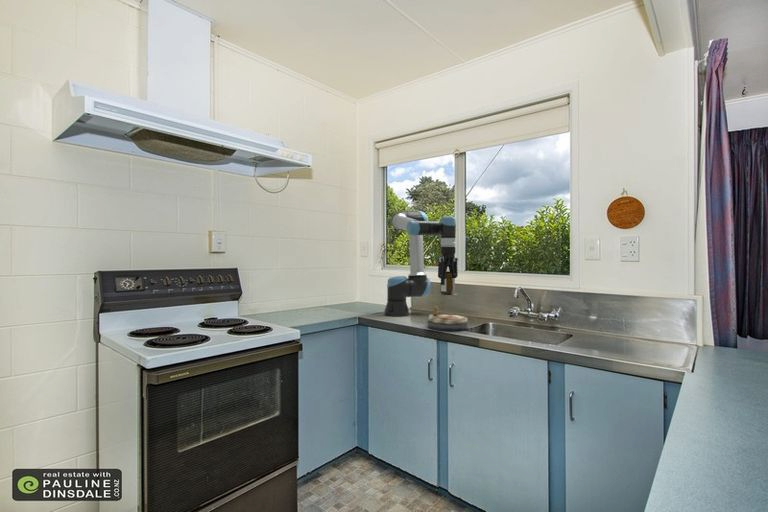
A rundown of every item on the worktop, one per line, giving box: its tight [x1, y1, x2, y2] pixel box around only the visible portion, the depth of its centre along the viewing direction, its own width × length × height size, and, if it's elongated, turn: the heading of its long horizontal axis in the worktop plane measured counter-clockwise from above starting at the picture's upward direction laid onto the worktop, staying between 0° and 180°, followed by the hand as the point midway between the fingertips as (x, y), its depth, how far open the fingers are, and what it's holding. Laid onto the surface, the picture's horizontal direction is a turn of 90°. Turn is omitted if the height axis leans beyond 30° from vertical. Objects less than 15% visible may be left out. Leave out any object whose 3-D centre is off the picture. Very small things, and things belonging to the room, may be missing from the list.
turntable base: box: [427, 314, 469, 332], centre depth 205 cm, size 21×21×5 cm
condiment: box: [438, 270, 458, 296], centre depth 205 cm, size 7×8×12 cm
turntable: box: [428, 305, 469, 324], centre depth 205 cm, size 20×20×6 cm
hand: (447, 290), depth 205 cm, fingers closed on condiment, 6 cm apart
